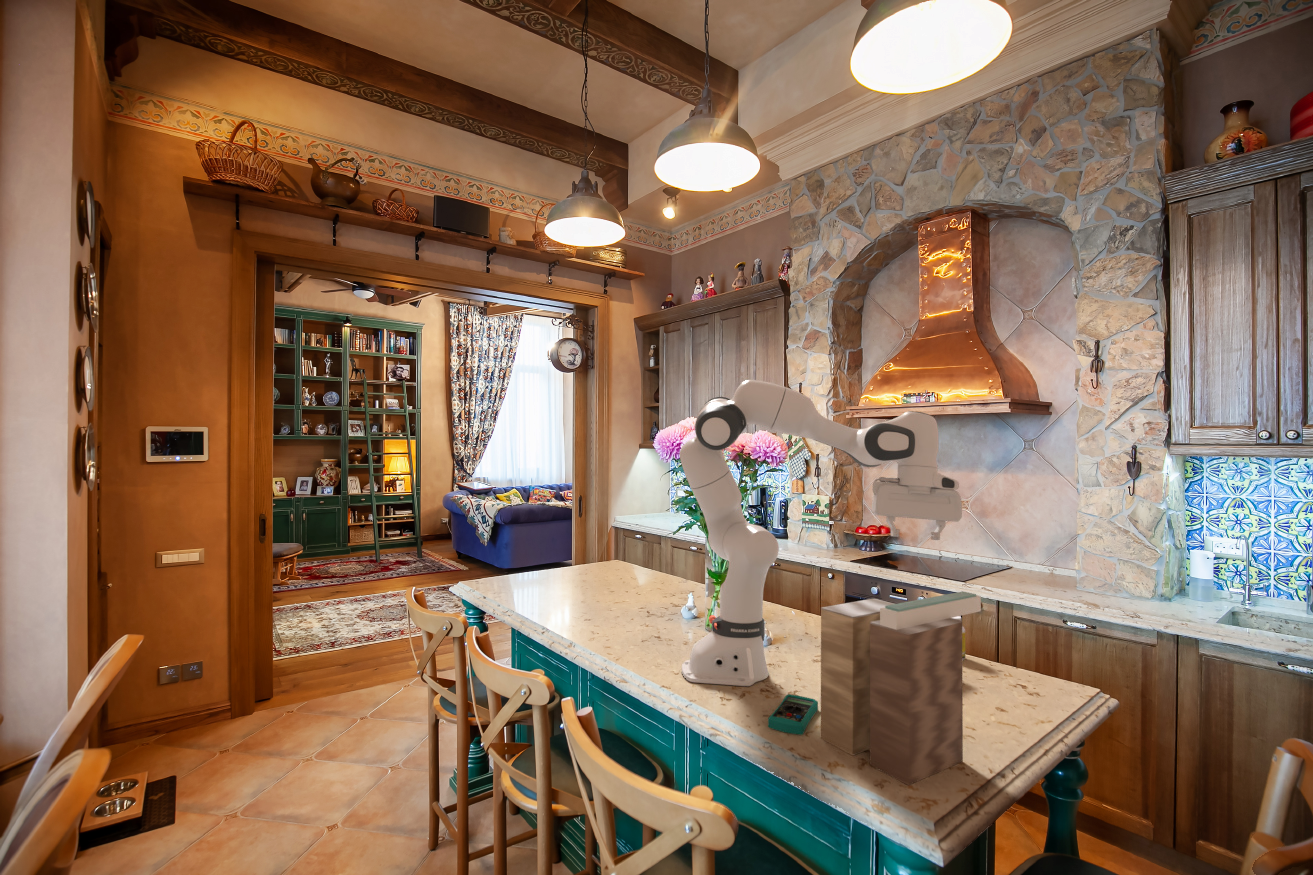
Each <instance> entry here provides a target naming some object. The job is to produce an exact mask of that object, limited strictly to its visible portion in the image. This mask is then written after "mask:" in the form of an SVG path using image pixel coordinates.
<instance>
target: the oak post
mask: <svg viewBox="0 0 1313 875" xmlns="http://www.w3.org/2000/svg"><path fill="white" fill-rule="evenodd" d="M893 604H895V603H894V602H890V601H886V600H882V599H878V598H868V599H863V600H857V601H851V602H846V603H840V604H834V605H829V606H823V607H822V606H821V607H820V739H821V740H823V741H826V742H827V743H828V744H830V745H833V746H835V747H836V748H838V749H840V750H842V751H843V752H845V753H848V754H849V755H851V756H854V755H857V754H859V753H860V754H861V753H863V752H865V751H868V750H870V622H872V621H877V620H880V608H885V606H887V605H893Z"/></svg>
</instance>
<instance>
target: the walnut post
mask: <svg viewBox="0 0 1313 875" xmlns="http://www.w3.org/2000/svg"><path fill="white" fill-rule="evenodd" d="M962 626H963V620H962V619H961V620H958V619H954V618H948V619H943V620H939V621H934V622H930V623H925V624H921V625H916V626H912V627H907V628H903V629H898V630H895V629H892V628H889V627H885V626H882V625H880V620H877V621H872V622H870V749H869V765H870V766H871V767H874V768H876V769H877V770H879V771H881V772H882V773H884V774H886V775H888V776H891V778H893V779H896V780H897V781H899V782H902V783H904V784H906V785H907V786H909V785H912V784H914V783H917V782H919V781H921V780H924V779H925V778H928V777H930V776H932V775H935V774H937V773H939V772H941V771H944V770H946V769H948V768H951V767H953V766H955V765H958V764H960V763H963V761H964V756H963V755H964V754H963V750H964V749H963V748H964V747H963V744H964V741H963V737H964V736H963V733H964V732H963V731H964V730H963V729H964V728H963V727H964V726H963V725H964V724H963V721H964V720H963V717H964V716H963V705H964V704H963V697H964V695H963V660H962Z"/></svg>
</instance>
